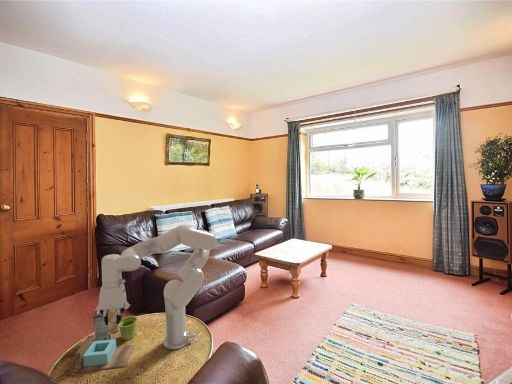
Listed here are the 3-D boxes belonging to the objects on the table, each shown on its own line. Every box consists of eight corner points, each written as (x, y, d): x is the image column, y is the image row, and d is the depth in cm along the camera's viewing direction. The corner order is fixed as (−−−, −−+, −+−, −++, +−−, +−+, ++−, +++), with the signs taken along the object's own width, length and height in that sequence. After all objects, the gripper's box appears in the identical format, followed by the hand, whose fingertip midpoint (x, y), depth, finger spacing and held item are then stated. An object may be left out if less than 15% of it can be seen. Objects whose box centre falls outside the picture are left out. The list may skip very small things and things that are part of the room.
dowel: (119, 328, 117) (119, 303, 116) (116, 334, 113) (116, 307, 112) (110, 329, 116) (109, 304, 115) (106, 335, 112) (106, 308, 112)
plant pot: (139, 338, 134) (139, 322, 133) (119, 345, 129) (118, 328, 128) (136, 329, 142) (135, 314, 141) (117, 335, 136) (116, 319, 136)
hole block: (116, 348, 125) (115, 339, 125) (107, 364, 115) (107, 353, 115) (94, 351, 124) (93, 341, 123) (83, 366, 114) (82, 356, 113)
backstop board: (135, 345, 128) (134, 330, 128) (125, 366, 115) (124, 349, 114) (89, 350, 125) (88, 334, 124) (73, 372, 111) (72, 355, 111)
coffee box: (98, 337, 135) (96, 307, 134) (112, 334, 138) (110, 305, 136) (95, 348, 127) (93, 317, 125) (110, 344, 129) (108, 314, 128)
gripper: (134, 278, 118) (135, 316, 120) (94, 280, 115) (96, 320, 117) (130, 285, 111) (130, 326, 112) (87, 288, 108) (88, 329, 109)
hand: (113, 322), depth 115 cm, fingers closed on dowel, 4 cm apart
